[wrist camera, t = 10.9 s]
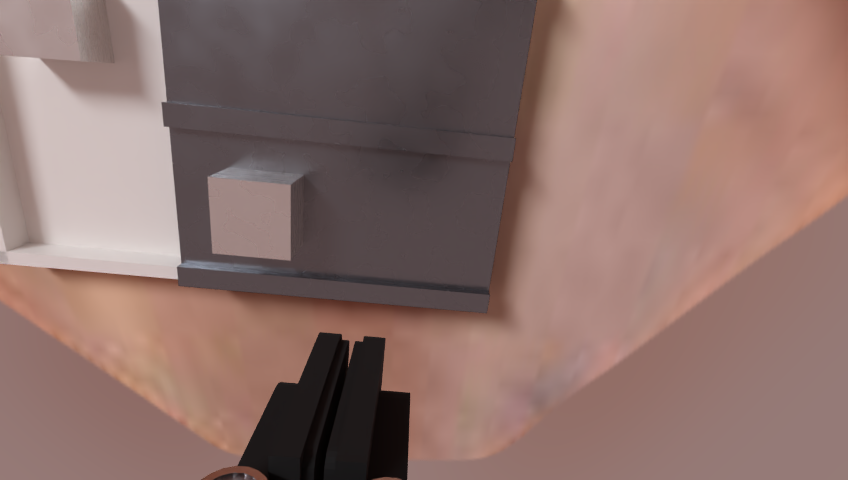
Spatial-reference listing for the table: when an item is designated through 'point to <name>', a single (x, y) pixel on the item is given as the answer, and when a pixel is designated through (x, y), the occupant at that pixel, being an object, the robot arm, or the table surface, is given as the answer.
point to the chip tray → (90, 156)
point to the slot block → (350, 138)
